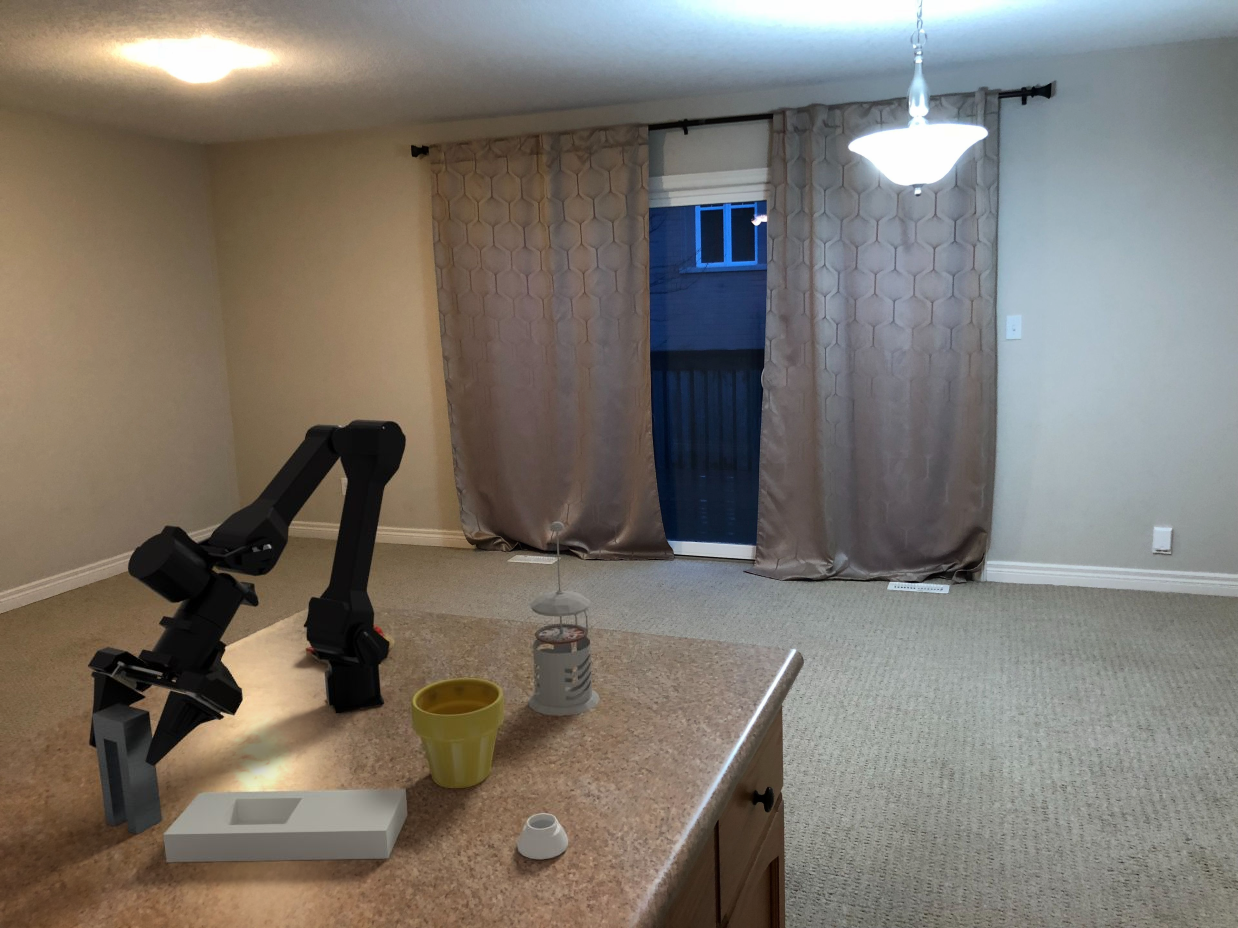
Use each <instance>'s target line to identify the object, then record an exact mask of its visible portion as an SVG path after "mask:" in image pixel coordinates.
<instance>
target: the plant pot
mask: <svg viewBox="0 0 1238 928" xmlns="http://www.w3.org/2000/svg"><path fill="white" fill-rule="evenodd" d="M504 702H505V701H504V693H503V690H502V688H501V686H499V684H496V683H494V682H493V681H490V680H486V679H481V678H476V677H475V678H474V677H460V678H459V677H457V678H450V679H449V678H448V679H444V680H439V681H437V682H433V683H431V684H428V685H426V686H424V687H422V688H421V689H419V690H417V692H416V693H415V694H414V695H413V697H412V699H411V703H410V706H411V708H410V709H411V721H412V728H413V731H414V732H415V734H416V735H418V736H419V737H420V740H421V743H422V748H423V750H424V754H425V757H426V760H427V764H428V768H429V771H430V774H431V778H432V780H433V782H434V783H435V784H437V785H438V786H440V787H443V788H446V789H447V788H449V789H465V788H469V787H474V786H476V785H478V784H480V783H482V782H483V781H485V780H486V778H488V776H489V775H490V772H491V769H492V762H493V755H494V749H495V745H496V739H497V733H498V729H499V728H500V727H501V725H502V724H503V721H504V718H505V717H504Z"/></svg>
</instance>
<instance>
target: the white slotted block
mask: <svg viewBox="0 0 1238 928" xmlns="http://www.w3.org/2000/svg"><path fill="white" fill-rule="evenodd" d="M406 790H407V789H406V788H382V789H381V788H380V789H375V788H374V789H331V790H330V789H328V790H327V789H325V790H321V789H318V790H315V789H314V790H276V791H275V790H270V791H269V790H267V791H264V790H263V791H260V790H259V791H217V792H216V791H214V792H213V791H211V792H210V791H209V792H207V791H205V792H199V793H198V794H197V795H196V796H195V798H194V799H192V801H191V802H190V804H189V805H187V807H185V809H184V810H183V812H182V813H181V814H180V815H179V816H178V817H177V818H176V819H175V821H174V822H173V823H172V824H171V825H170V826H169V827H168V828H167V830H166V831H165V832H164V833H163V840H164V850H165V859H166V863H193V862H194V863H195V862H196V863H197V862H199V863H200V862H202V863H205V862H206V863H207V862H260V861H261V862H262V861H263V862H264V861H317V860H318V861H319V860H320V861H321V860H323V861H324V860H329V861H330V860H369V859H370V860H374V859H375V860H376V859H377V860H381V859H385V860H386V859H389V858H390V856H391V854H392V852H393V850H394V849H393V848H394V847H395V844H396V842H397V840H398V837H399V835H400V833H401V831H402V828H403V825H404V824H405V822H406V819H407V817H408V805H407V791H406Z"/></svg>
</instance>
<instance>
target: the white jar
mask: <svg viewBox="0 0 1238 928" xmlns="http://www.w3.org/2000/svg"><path fill="white" fill-rule="evenodd" d="M516 845H517V851H518V852H519V853H520V854H521V856H523V857H526V858H528V859H531V860H532V859H533V860H545V859H552V858H556V857H557V856H559V855H561V854H562V853H563V852H565V851H566V850H567V848H568V846H569V838H568V836H567V833H566V831H565V829H564V828H563V827H562V825H561V824H560V822H559V821H558V819H557V817H556V816H555V815H554V814H551V813H547V812H545V813H536V814H533V815H531V816H530V817H528V818H527V820H526V823H525V825H524V827H522V830H521V833H520V835H519V837H518V839H517V842H516Z"/></svg>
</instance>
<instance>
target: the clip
mask: <svg viewBox="0 0 1238 928" xmlns="http://www.w3.org/2000/svg"><path fill="white" fill-rule="evenodd" d="M150 716H151V715H150V711H149V710H145V709H141V708H139V707H134V706H132V705H130V706H127V705H123V704H120V703H118V704H116V705H113V706H111V707H108V708H106V709H104V710H101V711H99V712H96V713H94V714H92V713H91V718H92V717H93V725H94V733H95V740H96V748H95V749H96V754H97V755H96V756H97V762H98V771H99V776H100V777H99V779H100V784H101V787H100V788H101V792H102V793H101V795H102V801H103V808H104V810H103V811H104V815H105V823H106V825H109V826H112V827H117V826H119V825H120V824H122V823H124V822H126V825H127V831H128V832H129V833H132V834H134V835H138V834H141V833H142V832H144V831H146V830H147V829H149V828H151V827H154V826H155V825H156V824H158V823H160V822H162V821H163V816H162V814H163V813H162V809H161V807H162V806H161V799H160V789H159V783H158V772H157V764H156V765H154V766H153V765H150V764H148V763H146V757H147V754H148V750H149V747H150V744H151V741H152V738H153V732H152V723H151V717H150Z"/></svg>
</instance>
